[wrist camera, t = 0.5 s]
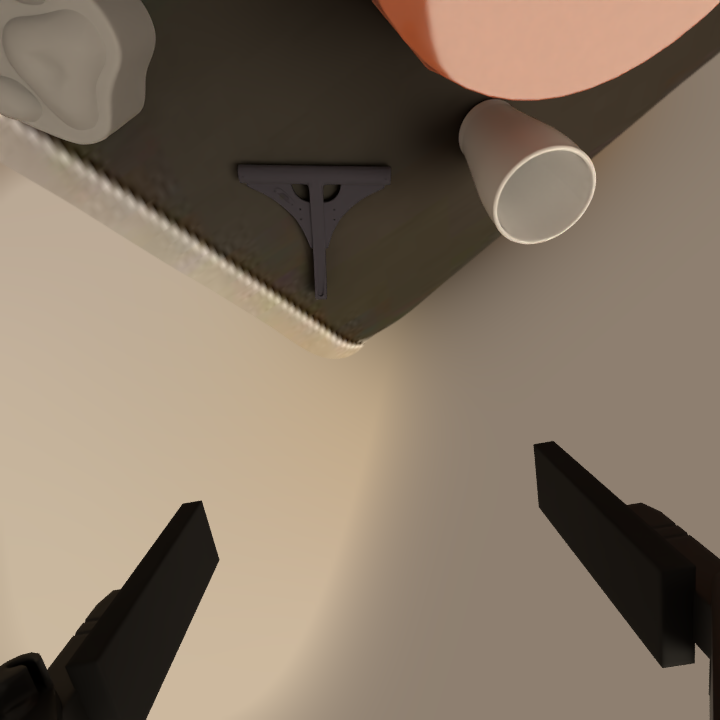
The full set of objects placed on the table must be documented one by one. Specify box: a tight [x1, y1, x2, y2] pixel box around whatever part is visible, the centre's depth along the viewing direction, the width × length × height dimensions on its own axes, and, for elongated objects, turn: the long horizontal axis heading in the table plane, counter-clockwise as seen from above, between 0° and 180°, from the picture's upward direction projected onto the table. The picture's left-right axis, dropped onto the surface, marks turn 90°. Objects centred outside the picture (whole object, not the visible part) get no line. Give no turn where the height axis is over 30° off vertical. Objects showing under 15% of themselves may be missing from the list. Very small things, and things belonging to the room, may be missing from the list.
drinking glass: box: [459, 99, 596, 244], centre depth 32 cm, size 7×7×15 cm
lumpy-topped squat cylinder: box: [0, 0, 156, 144], centre depth 28 cm, size 10×13×9 cm
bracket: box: [238, 164, 391, 299], centre depth 43 cm, size 14×15×3 cm
